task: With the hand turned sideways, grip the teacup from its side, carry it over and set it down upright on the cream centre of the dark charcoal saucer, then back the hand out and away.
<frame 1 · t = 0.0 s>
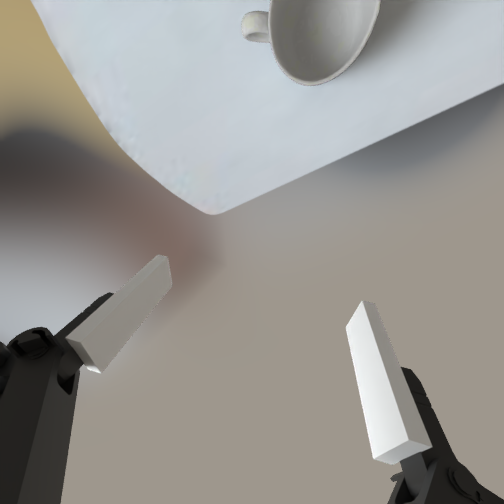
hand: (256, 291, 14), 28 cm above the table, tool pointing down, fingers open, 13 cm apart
teacup: (304, 38, 26), on the table
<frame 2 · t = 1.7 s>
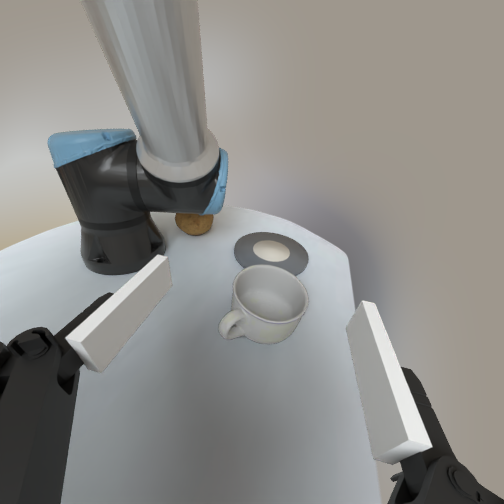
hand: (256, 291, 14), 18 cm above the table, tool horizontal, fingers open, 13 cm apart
saucer: (270, 253, 49), on the table
teacup: (255, 327, 32), on the table
potato: (195, 230, 55), on the table
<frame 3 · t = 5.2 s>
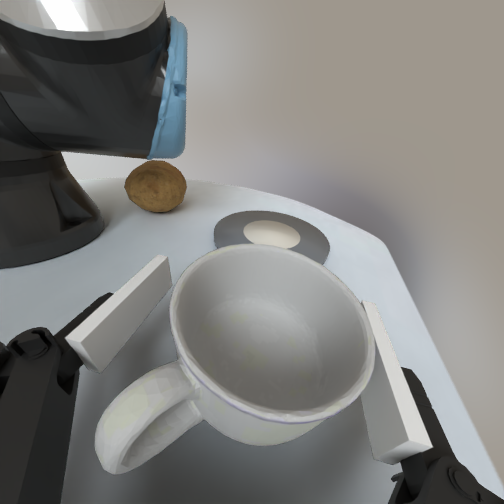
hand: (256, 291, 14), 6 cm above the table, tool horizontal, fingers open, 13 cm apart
saucer: (270, 238, 32), on the table
teacup: (238, 379, 15), on the table, touching gripper
potato: (161, 208, 38), on the table
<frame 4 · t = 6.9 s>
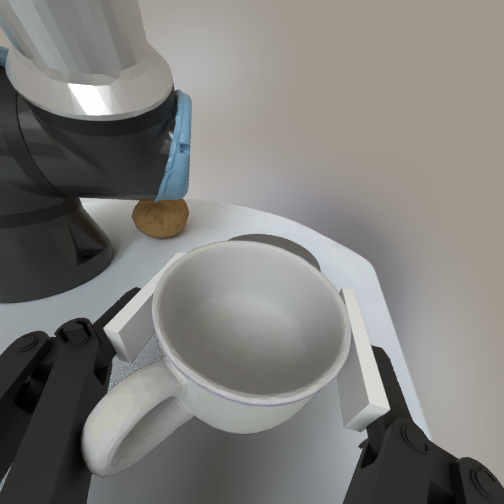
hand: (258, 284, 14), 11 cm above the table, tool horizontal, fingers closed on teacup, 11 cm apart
saucer: (266, 263, 35), on the table
teacup: (227, 374, 15), point 4 cm above the table, touching gripper
potato: (165, 232, 41), on the table
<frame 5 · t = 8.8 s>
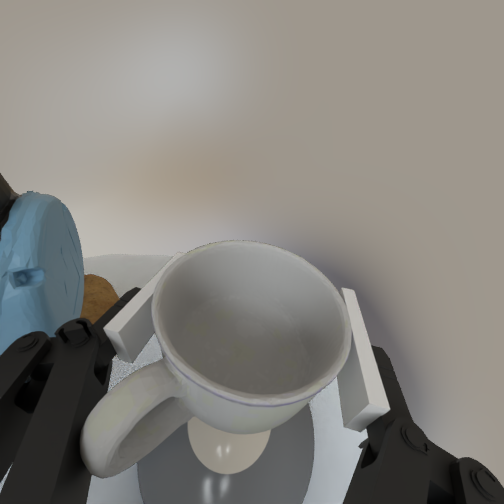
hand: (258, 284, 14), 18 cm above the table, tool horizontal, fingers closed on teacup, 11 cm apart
saucer: (230, 416, 22), on the table
teacup: (227, 374, 15), point 12 cm above the table, touching gripper
potato: (90, 339, 28), on the table
when the fingers open (8 cm above the table, at t = 11.9 s): teacup stays where it is, resting on saucer.
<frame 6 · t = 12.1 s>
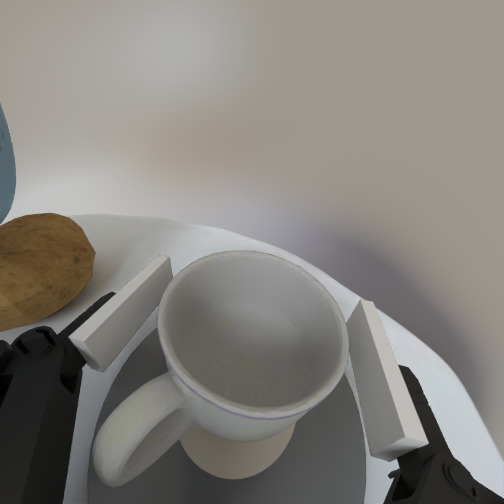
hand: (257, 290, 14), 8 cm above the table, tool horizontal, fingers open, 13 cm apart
saucer: (236, 394, 15), on the table
teacup: (228, 381, 15), point 1 cm above the table, touching saucer
potato: (51, 297, 21), on the table
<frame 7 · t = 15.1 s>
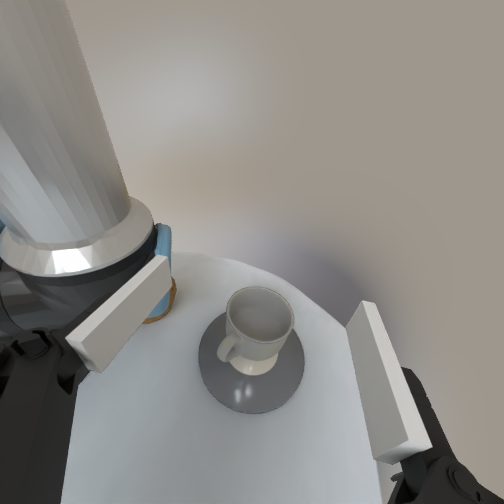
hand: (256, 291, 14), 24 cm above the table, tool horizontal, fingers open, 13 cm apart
saucer: (251, 350, 35), on the table
teacup: (248, 345, 35), point 1 cm above the table, touching saucer
potato: (153, 307, 41), on the table
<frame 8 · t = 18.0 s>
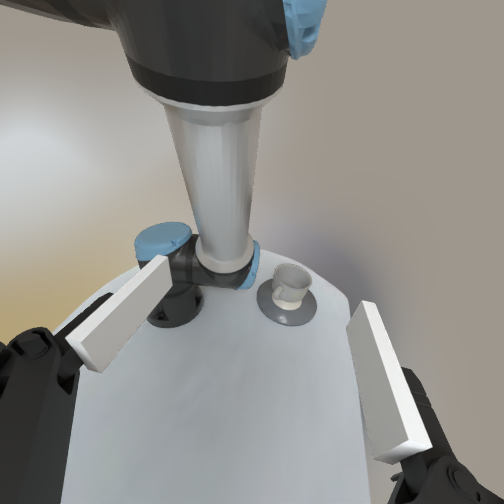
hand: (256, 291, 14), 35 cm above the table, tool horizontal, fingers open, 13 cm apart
saucer: (286, 300, 60), on the table
teacup: (284, 297, 60), point 1 cm above the table, touching saucer
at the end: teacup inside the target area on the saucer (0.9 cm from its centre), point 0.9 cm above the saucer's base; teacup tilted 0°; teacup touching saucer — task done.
